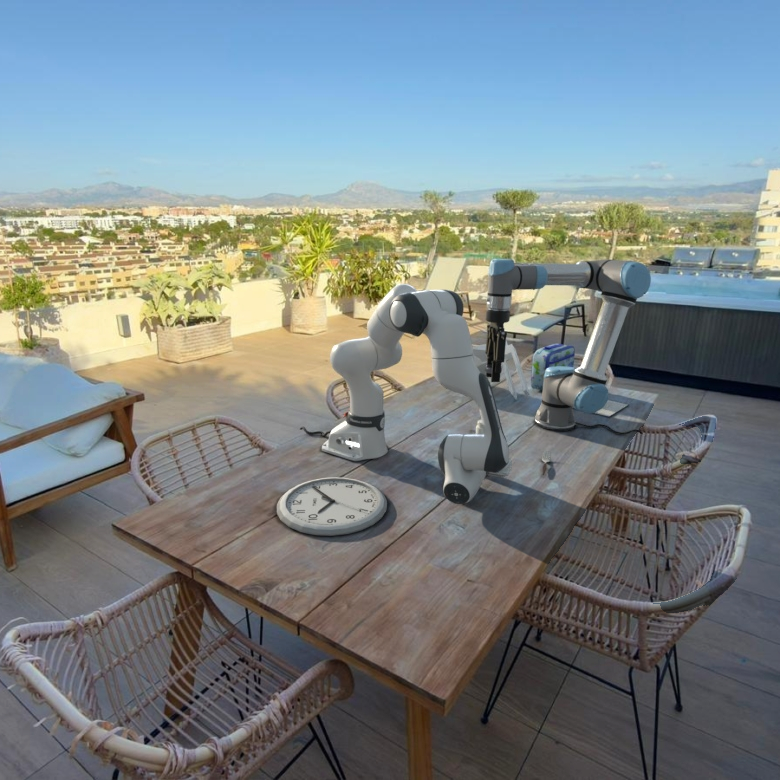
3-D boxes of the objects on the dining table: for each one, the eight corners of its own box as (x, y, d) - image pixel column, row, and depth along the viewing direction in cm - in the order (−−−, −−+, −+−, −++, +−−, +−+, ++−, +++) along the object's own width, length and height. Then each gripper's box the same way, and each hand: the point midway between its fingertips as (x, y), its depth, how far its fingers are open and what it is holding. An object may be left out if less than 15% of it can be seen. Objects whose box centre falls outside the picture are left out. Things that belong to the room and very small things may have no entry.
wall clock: (392, 527, 129) (268, 531, 127) (391, 533, 130) (269, 537, 127) (383, 473, 158) (282, 475, 155) (383, 478, 158) (282, 480, 156)
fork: (538, 475, 162) (539, 470, 161) (542, 455, 176) (543, 450, 175) (547, 477, 161) (547, 471, 160) (550, 457, 175) (551, 451, 174)
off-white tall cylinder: (481, 477, 161) (485, 425, 156) (469, 471, 164) (473, 421, 159) (490, 472, 163) (494, 421, 158) (479, 467, 167) (483, 417, 162)
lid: (498, 369, 175) (499, 364, 174) (503, 373, 170) (504, 368, 169) (483, 369, 174) (483, 364, 174) (487, 374, 169) (487, 368, 169)
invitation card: (608, 416, 214) (573, 407, 224) (608, 416, 214) (573, 408, 224) (628, 404, 229) (594, 396, 238) (628, 405, 229) (594, 397, 238)
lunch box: (547, 395, 239) (552, 351, 233) (526, 390, 247) (530, 347, 240) (574, 384, 257) (579, 343, 251) (554, 380, 264) (558, 339, 258)
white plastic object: (461, 429, 252) (437, 405, 227) (444, 352, 274) (420, 323, 250) (535, 404, 240) (518, 377, 215) (510, 326, 262) (492, 293, 237)
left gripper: (508, 466, 146) (516, 448, 158) (438, 453, 153) (451, 437, 165) (506, 486, 147) (515, 467, 160) (437, 473, 155) (450, 455, 167)
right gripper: (479, 304, 174) (474, 372, 181) (495, 313, 157) (489, 387, 164) (500, 305, 175) (495, 371, 182) (519, 313, 158) (512, 387, 165)
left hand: (482, 451), depth 163 cm, fingers closed on off-white tall cylinder, 4 cm apart
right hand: (492, 379), depth 173 cm, fingers closed on lid, 5 cm apart
